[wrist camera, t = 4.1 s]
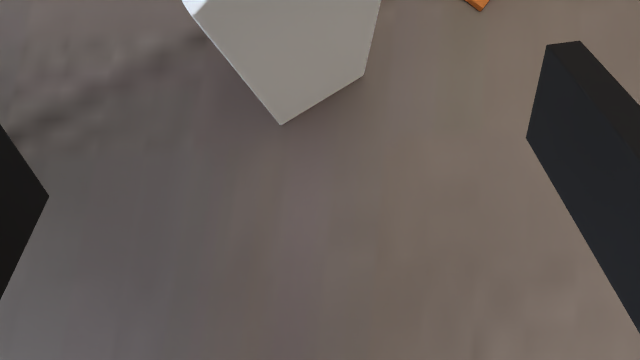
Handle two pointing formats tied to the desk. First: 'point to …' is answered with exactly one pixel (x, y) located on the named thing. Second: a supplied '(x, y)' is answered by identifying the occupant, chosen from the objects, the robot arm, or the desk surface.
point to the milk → (290, 46)
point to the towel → (478, 3)
